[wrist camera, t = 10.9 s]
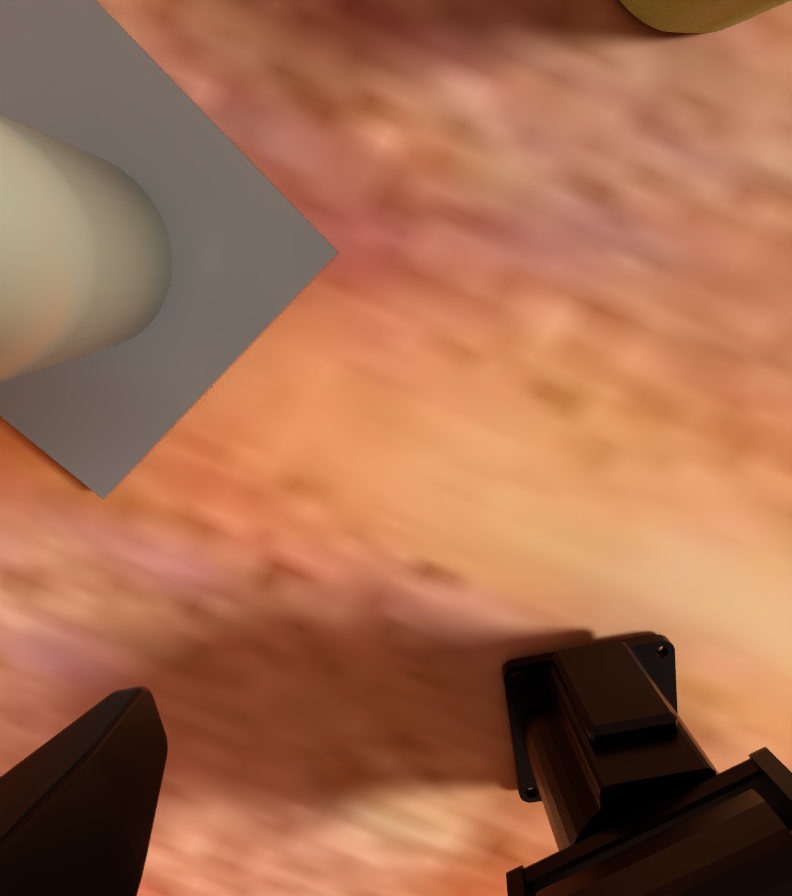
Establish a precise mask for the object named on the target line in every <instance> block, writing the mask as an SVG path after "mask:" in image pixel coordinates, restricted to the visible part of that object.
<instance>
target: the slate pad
mask: <svg viewBox="0 0 792 896" xmlns="http://www.w3.org/2000/svg"><path fill="white" fill-rule="evenodd" d="M0 115H2V116H4V117H7V118H9V119H11V120H14V121H16V122H18V123H21V124H23V125H25V126H28V127H30V128H32V129H35V130H37V131H39V132H42V133H44V134H46V135H49V136H51V137H53V138H56V139H58V140H60V141H63V142H65V143H67V144H70V145H72V146H74V147H77V148H79V149H81V150H84V151H86V152H88V153H91V154H93V155H95V156H98V157H100V158H102V159H104V160H106V161H108V162H110V163H112V164H113V165H115V166H117V167H118V168H120V169H121V170H123V171H124V172H125V173H126V174H128V175H129V176H130V177H131V178H133V179H134V180H135V181H136V182H137V183H138V184H139V185H140V186H141V187H142V189H143V190H144V191H145V192H146V194H147V195H148V196H149V197H150V199H151V200H152V202H153V203H154V205H155V207H156V208H157V210H158V211H159V214H160V216H161V218H162V220H163V222H164V224H165V227H166V230H167V234H168V237H169V241H170V246H171V254H172V276H171V281H170V286H169V290H168V293H167V296H166V299H165V301H164V303H163V305H162V307H161V309H160V311H159V312H158V314H157V315H156V317H155V318H154V320H153V321H152V322H151V323H150V324H149V325H148V326H147V327H146V328H145V329H144V330H143V331H141V332H140V333H139V334H138V335H136V336H135V337H133V338H131V339H130V340H128V341H126V342H124V343H121V344H119V345H116V346H113V347H110V348H107V349H104V350H101V351H98V352H94V353H91V354H88V355H85V356H82V357H79V358H75V359H72V360H69V361H66V362H63V363H59V364H56V365H53V366H50V367H47V368H44V369H40V370H37V371H34V372H31V373H28V374H25V375H21V376H18V377H15V378H12V379H9V380H6V381H2V382H0V416H1V417H2V418H3V419H4V420H5V421H7V422H8V423H9V424H10V425H12V426H13V427H14V428H15V429H17V430H18V431H19V432H20V433H22V434H23V435H24V436H25V437H26V438H28V439H29V440H30V441H31V442H33V443H34V444H35V445H36V446H38V447H39V448H40V449H41V450H43V451H44V452H45V453H46V454H48V455H49V456H50V457H51V458H52V459H54V460H55V461H56V462H57V463H59V464H60V465H61V466H62V467H64V468H65V469H66V470H67V471H69V472H70V473H71V474H72V475H73V476H75V477H76V478H77V479H78V480H80V481H81V482H82V483H83V484H85V485H86V486H87V487H88V488H90V489H91V490H92V491H93V492H95V493H96V494H97V495H98V496H99V497H101V498H102V499H104V498H105V497H106V496H107V495H109V494H110V493H111V492H112V491H113V490H114V489H115V488H116V487H117V486H118V485H119V484H120V483H121V482H122V481H123V480H124V478H125V477H126V476H127V475H128V474H129V473H130V472H131V471H132V470H133V469H134V468H135V467H136V466H137V465H138V464H139V463H140V462H141V461H142V459H143V458H144V457H145V456H146V455H147V454H148V453H149V452H150V451H151V450H152V449H153V448H154V447H155V446H156V445H157V444H158V443H159V442H160V441H161V439H162V438H163V437H164V436H165V435H166V434H167V433H168V432H169V431H170V430H171V429H172V428H173V427H174V426H175V425H176V424H177V423H178V422H179V421H180V419H181V418H182V417H183V416H184V415H185V414H186V413H187V412H188V411H189V410H190V409H191V408H192V407H193V406H194V405H195V404H196V403H197V402H198V400H199V399H200V398H201V397H202V396H203V395H204V394H205V393H206V392H207V391H208V390H209V389H210V388H211V387H212V386H213V385H214V384H215V383H216V382H217V380H218V379H219V378H220V377H221V376H222V375H223V374H224V373H225V372H226V371H227V370H228V369H229V368H230V367H231V366H232V365H233V364H234V363H235V361H236V360H237V359H238V358H239V357H240V356H241V355H242V354H243V353H244V352H245V351H246V350H247V349H248V348H249V347H250V346H251V345H252V344H253V343H254V341H255V340H256V339H257V338H258V337H259V336H260V335H261V334H262V333H263V332H264V331H265V330H266V329H267V328H268V327H269V326H270V325H271V324H272V323H273V321H274V320H275V319H276V318H277V317H278V316H279V315H280V314H281V313H282V312H283V311H284V310H285V309H286V308H287V307H288V306H289V305H290V304H291V302H292V301H293V300H294V299H295V298H296V297H297V296H298V295H299V294H300V293H301V292H302V291H303V290H304V289H305V288H306V287H307V286H308V285H309V284H310V282H311V281H312V280H313V279H314V278H315V277H316V276H317V275H318V274H319V273H320V272H321V271H322V270H323V269H324V268H325V267H326V266H327V265H328V263H329V262H330V261H331V260H332V259H333V258H334V257H335V256H336V255H337V254H338V253H339V252H338V251H337V250H336V249H335V248H334V247H333V246H332V245H331V244H330V243H329V242H328V241H327V240H326V239H325V238H324V237H323V236H322V235H321V234H320V233H319V232H318V231H317V229H316V228H315V227H314V226H313V225H312V224H311V223H310V222H309V221H308V220H307V219H306V218H305V217H304V216H303V215H302V214H301V213H300V212H299V211H298V210H297V209H296V208H295V207H294V206H293V205H292V204H291V202H290V201H289V200H288V199H287V198H286V197H285V196H284V195H283V194H282V193H281V192H280V191H279V190H278V189H277V188H276V187H275V186H274V185H273V184H272V183H271V182H270V181H269V180H268V179H267V178H266V177H265V175H264V174H263V173H262V172H261V171H260V170H259V169H258V168H257V167H256V166H255V165H254V164H253V163H252V162H251V161H250V160H249V159H248V158H247V157H246V156H245V155H244V154H243V153H242V152H241V151H240V150H239V148H238V147H237V146H236V145H235V144H234V143H233V142H232V141H231V140H230V139H229V138H228V137H227V136H226V135H225V134H224V133H223V132H222V131H221V130H220V129H219V128H218V127H217V126H216V125H215V124H214V122H213V121H212V120H211V119H210V118H209V117H208V116H207V115H206V114H205V113H204V112H203V111H202V110H201V109H200V108H199V107H198V106H197V105H196V104H195V103H194V102H193V101H192V100H191V99H190V98H189V97H188V95H187V94H186V93H185V92H184V91H183V90H182V89H181V88H180V87H179V86H178V85H177V84H176V83H175V82H174V81H173V80H172V79H171V78H170V77H169V76H168V75H167V74H166V73H165V72H164V71H163V70H162V68H161V67H160V66H159V65H158V64H157V63H156V62H155V61H154V60H153V59H152V58H151V57H150V56H149V55H148V54H147V53H146V52H145V51H144V50H143V49H142V48H141V47H140V46H139V45H138V44H137V43H136V41H135V40H134V39H133V38H132V37H131V36H130V35H129V34H128V33H127V32H126V31H125V30H124V29H123V28H122V27H121V26H120V25H119V24H118V23H117V22H116V21H115V20H114V19H113V18H112V17H111V16H110V14H109V13H108V12H107V11H106V10H105V9H104V8H103V7H102V6H101V5H100V4H99V3H98V2H97V1H96V0H0Z"/></svg>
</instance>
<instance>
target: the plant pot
mask: <svg viewBox="0 0 792 896" xmlns="http://www.w3.org/2000/svg"><path fill="white" fill-rule="evenodd" d="M619 1H620V2H621V3H622V4H623V5H624V6H625V7H626V8H627V9H628V11H629V12H631V13H632V14H633V15H634V16H635V17H637V18H638V19H639V20H641V21H642V22H643V23H645V24H647V25H649V26H651V27H653V28H655V29H658V30H660V31H665V32H678V33H711V32H716V31H720V30H723V29H725V28H728V27H730V26H733V25H735V24H738V23H740V22H742V21H745V20H747V19H749V18H752V17H754V16H756V15H759V14H761V13H763V12H765V11H768V10H770V9H772V8H775V7H777V6H779V5H782V4H784V3H786V2H789V1H791V0H619Z"/></svg>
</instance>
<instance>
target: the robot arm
mask: <svg viewBox="0 0 792 896" xmlns="http://www.w3.org/2000/svg"><path fill="white" fill-rule="evenodd" d="M661 646H663V648H662V649H661V650H660V651H658V652H655V650H656V649H657V648H659V647H661ZM514 672H521V673H520V674H519V675H517V676H511V674H512V673H514ZM501 673H502V681H503V688H504V695H505V703H506V710H507V717H508V724H509V732H510V739H511V746H512V753H513V761H514V768H515V775H516V782H517V788H518V791H519V795H520V797H521V799H522V800H523V801H525V802H538V801H542V802H543V805H544V808H545V811H546V814H547V817H548V820H549V823H550V826H551V829H552V832H553V835H554V838H555V841H556V844H557V847H558V850H559V851H558V852H556V853H554V854H552V855H550V856H548V857H546V858H544V859H542V860H540V861H538V862H536V863H534V864H532V865H530V866H528V867H526V868H524V867H523V866H522V865H521V866H519V867H517V868H515V869H513V870H511V871H509V872H507V873H506V878H507V892H508V896H792V772H790V771H789V770H788V769H787V768H786V767H785V766H784V765H783V764H782V763H781V762H780V761H779V760H778V759H777V758H776V757H775V756H774V755H773V754H772V753H771V752H770V751H769V750H768V749H767V748H766V747H764V748H762V749H759V750H757V751H755V752H753V753H751V754H749V757H750V759H748V760H746V761H744V762H742V763H740V764H738V765H735V766H733V767H731V768H729V769H727V770H725V771H723V772H721V773H718V771H717V770H716V768H715V767H714V766H713V764H712V763H711V761H710V760H709V758H708V757H707V756H706V754H705V753H704V751H703V750H702V748H701V747H700V746H699V744H698V743H697V741H696V740H695V738H694V737H693V736H692V734H691V733H690V731H689V730H688V729H687V727H686V726H685V724H684V723H683V721H682V720H681V719H680V717H679V716H678V714H677V693H676V669H675V649H674V646H673V645H672V643H671V642H670V641H669V640H668V639H667V638H666V637H665V636H663V635H652V636H646V637H640V638H635V639H629V640H623V641H615V642H609V643H603V644H597V645H592V646H586V647H580V648H574V649H569V650H563V651H558V652H554V653H548V654H542V655H537V656H531V657H525V658H519V659H514V660H510V661H508V662H507V663H505V664H504V666H503V667H502V672H501ZM167 750H168V746H167V737H166V733H165V730H164V727H163V724H162V721H161V718H160V715H159V712H158V710H157V707H156V704H155V701H154V698H153V695H152V693H151V692H150V690H149V689H148V688H146V687H144V686H141V687H135V688H129V689H123V690H118V691H115V692H113V693H111V694H110V695H109V696H107V697H106V698H105V699H103V700H102V701H101V702H99V703H98V704H97V705H95V706H94V707H93V708H91V709H90V710H89V711H87V712H86V713H85V714H83V715H82V716H81V717H80V718H78V719H77V720H76V721H74V722H73V723H72V724H70V725H69V726H68V727H66V728H65V729H64V730H62V731H61V732H60V733H58V734H57V735H56V736H54V737H53V738H52V739H50V740H49V741H48V742H46V743H45V744H44V745H42V746H41V747H40V748H38V749H37V750H36V751H34V752H33V753H32V754H30V755H29V756H28V757H27V758H25V759H24V760H23V761H21V762H20V763H19V764H17V765H16V766H15V767H13V768H12V769H11V770H9V771H8V772H7V773H5V774H4V775H3V776H1V777H0V896H137V892H138V889H139V885H140V882H141V878H142V874H143V870H144V866H145V861H146V857H147V852H148V847H149V842H150V837H151V832H152V828H153V823H154V818H155V813H156V808H157V803H158V798H159V793H160V788H161V783H162V778H163V773H164V768H165V763H166V758H167ZM529 788H533V789H530V790H527V789H529Z"/></svg>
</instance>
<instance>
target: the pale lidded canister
mask: <svg viewBox="0 0 792 896" xmlns="http://www.w3.org/2000/svg"><path fill="white" fill-rule="evenodd" d="M171 276H172V254H171V246H170V241H169V237H168V234H167V230H166V227H165V224H164V222H163V220H162V218H161V216H160V214H159V211H158V210H157V208H156V207H155V205H154V203H153V202H152V200H151V199H150V197H149V196H148V195H147V194H146V192H145V191H144V190H143V189H142V187H141V186H140V185H139V184H138V183H137V182H136V181H135V180H134V179H133V178H131V177H130V176H129V175H128V174H126V173H125V172H124V171H123V170H121V169H120V168H118V167H117V166H115V165H113V164H112V163H110V162H108V161H106V160H104V159H102V158H100V157H98V156H95V155H93V154H91V153H88V152H86V151H84V150H81V149H79V148H77V147H74V146H72V145H70V144H67V143H65V142H63V141H60V140H58V139H56V138H53V137H51V136H49V135H46V134H44V133H42V132H39V131H37V130H35V129H32V128H30V127H28V126H25V125H23V124H21V123H18V122H16V121H14V120H11V119H9V118H7V117H4V116H2V115H0V382H2V381H6V380H9V379H12V378H15V377H18V376H21V375H25V374H28V373H31V372H34V371H37V370H40V369H44V368H47V367H50V366H53V365H56V364H59V363H63V362H66V361H69V360H72V359H75V358H79V357H82V356H85V355H88V354H91V353H94V352H98V351H101V350H104V349H107V348H110V347H113V346H116V345H119V344H121V343H124V342H126V341H128V340H130V339H131V338H133V337H135V336H136V335H138V334H139V333H140V332H141V331H143V330H144V329H145V328H146V327H147V326H148V325H149V324H150V323H151V322H152V321H153V320H154V318H155V317H156V315H157V314H158V312H159V311H160V309H161V307H162V305H163V303H164V301H165V299H166V296H167V293H168V290H169V286H170V281H171Z"/></svg>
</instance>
